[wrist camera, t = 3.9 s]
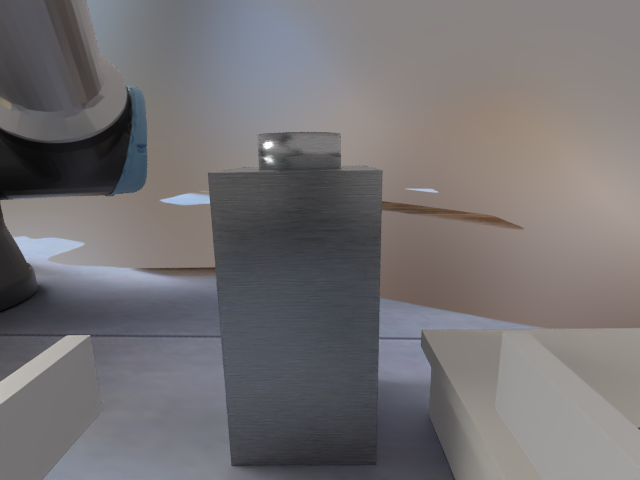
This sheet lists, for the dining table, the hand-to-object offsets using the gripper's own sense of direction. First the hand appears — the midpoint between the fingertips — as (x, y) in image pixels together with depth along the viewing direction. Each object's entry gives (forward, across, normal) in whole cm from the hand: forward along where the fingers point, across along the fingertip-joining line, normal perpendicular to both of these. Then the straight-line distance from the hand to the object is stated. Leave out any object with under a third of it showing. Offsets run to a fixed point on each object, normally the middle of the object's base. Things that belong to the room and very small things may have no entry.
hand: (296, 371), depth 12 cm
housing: (+8, 0, -8) cm, 11 cm away
